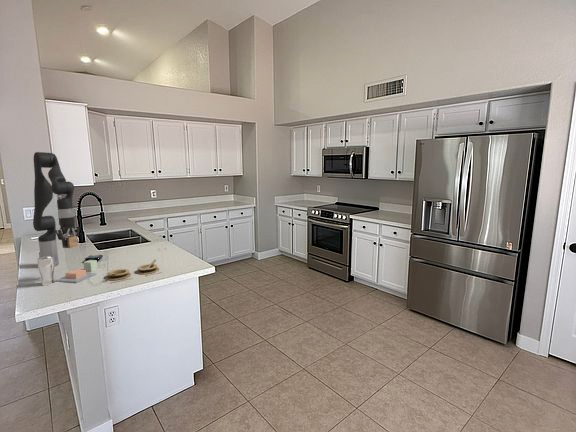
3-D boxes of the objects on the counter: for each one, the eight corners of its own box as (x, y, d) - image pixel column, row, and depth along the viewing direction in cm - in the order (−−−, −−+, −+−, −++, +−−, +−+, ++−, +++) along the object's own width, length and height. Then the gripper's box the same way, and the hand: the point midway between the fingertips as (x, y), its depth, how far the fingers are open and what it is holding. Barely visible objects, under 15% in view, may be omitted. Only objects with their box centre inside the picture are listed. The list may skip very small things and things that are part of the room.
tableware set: (154, 266, 207) (154, 257, 206) (163, 273, 192) (163, 264, 191) (103, 275, 189) (102, 266, 188) (109, 284, 174) (108, 274, 173)
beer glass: (59, 281, 177) (56, 256, 175) (50, 285, 170) (47, 259, 168) (46, 281, 177) (43, 256, 174) (37, 286, 170) (33, 259, 168)
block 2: (84, 271, 195) (83, 262, 194) (90, 269, 200) (90, 260, 199) (91, 271, 194) (90, 262, 193) (97, 269, 199) (96, 260, 198)
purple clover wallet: (84, 257, 212) (89, 254, 222) (84, 262, 212) (89, 259, 222) (99, 256, 214) (103, 254, 225) (99, 261, 215) (104, 257, 225)
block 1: (62, 247, 179) (61, 237, 178) (70, 246, 183) (69, 236, 183) (70, 248, 178) (68, 237, 177) (77, 246, 183) (76, 236, 182)
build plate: (55, 281, 177) (54, 274, 176) (76, 273, 191) (75, 267, 190) (76, 283, 174) (75, 276, 174) (96, 274, 188) (95, 268, 187)
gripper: (71, 215, 186) (75, 242, 188) (49, 218, 172) (53, 248, 174) (82, 214, 184) (85, 242, 187) (60, 218, 171) (64, 248, 173)
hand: (69, 245), depth 180 cm, fingers closed on block 1, 5 cm apart
